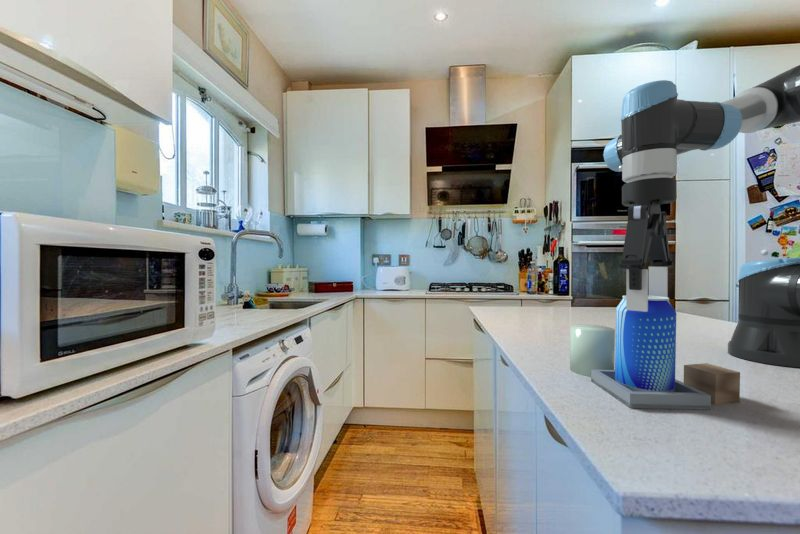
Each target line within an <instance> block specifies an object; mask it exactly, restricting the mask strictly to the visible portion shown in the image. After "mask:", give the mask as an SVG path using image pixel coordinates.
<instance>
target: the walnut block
mask: <svg viewBox="0 0 800 534" xmlns="http://www.w3.org/2000/svg"><path fill="white" fill-rule="evenodd" d="M683 383H685V384H687V385H689V386H691V387H694V388H696V389H698V390H700V391H702V392H705V393H707V394H709V395H711V405H714V406H720V405H729V404H730V405H731V404H739V403H740V399H741V398H740V396H741V395H740V393H741V392H740V391H741V390H740V389H741V372H740V371H737V370H733V369H730V368H729V369H728V368H727V367H722V366H718V365H715V364H712V363H708V362H705V363H692V364H684V365H683Z"/></svg>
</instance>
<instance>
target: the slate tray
mask: <svg viewBox="0 0 800 534" xmlns="http://www.w3.org/2000/svg"><path fill="white" fill-rule="evenodd" d="M590 378H591V379H590V381H591V383H593V384H595V385H596V386H597V387H599V388H601V389H602V390H603V391H605V392H606V393H608V394H609V395H611V396H612V397H614V398H615V399H616V400H618V401H619V402H621V403H622V404H624V405H626V407H628V408H629V409H663V410H664V409H667V410H703V411H704V410H709V411H710V410H711V409H712V404H711V395H709V394H707V393H705V392H702V391H700V390H698V389H696V388H694V387H691V386H689V385H687V384H685V383H684V381H683V382H682V381H680V380H678V379H676V378H675V389H674V390H673V391H671V392H633V391H631V390H630V389H628V388H626V387H625V386H623V385H621V384H620V383H618V382H617V381H616V379H615V369H614V370H593V369H591V377H590Z"/></svg>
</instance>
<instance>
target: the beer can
mask: <svg viewBox="0 0 800 534" xmlns="http://www.w3.org/2000/svg"><path fill="white" fill-rule="evenodd" d="M676 340H677V311H676V310H675V308H674V307H673V306H672V304H671V302H670V297H668V298H667V297H661V296H649V295H648V311H647V312H644V311H632V310H626V294H625V295H622V299H621V300H620V302H619V304H618V305H617V306H616V309H615V364H614V370H615V379H616V381H617V382H618V383H620V384H621V385H623V386H625V387H626V388H628V389H630V390H631V391H633V392H671V391H673V390H674V389H675V379H676V358H677V357H676V355H677V354H676V353H677V352H676V348H677V343H676V342H677V341H676Z"/></svg>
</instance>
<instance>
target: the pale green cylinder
mask: <svg viewBox="0 0 800 534" xmlns="http://www.w3.org/2000/svg"><path fill="white" fill-rule="evenodd" d="M569 333H570V334H569V337H570V339H569V340H570V341H569V342H570V343H569V344H570V345H569V350H570V351H569V370H570V371H571V373H572V372H573V373H574V374H576V375H581V376H583V377H584V376H585V377H589V378H591V369H593V370H615V342H616V328H614V327H610V326H604V325H598V324H583V323H581V324H571V325H570V332H569Z"/></svg>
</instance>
